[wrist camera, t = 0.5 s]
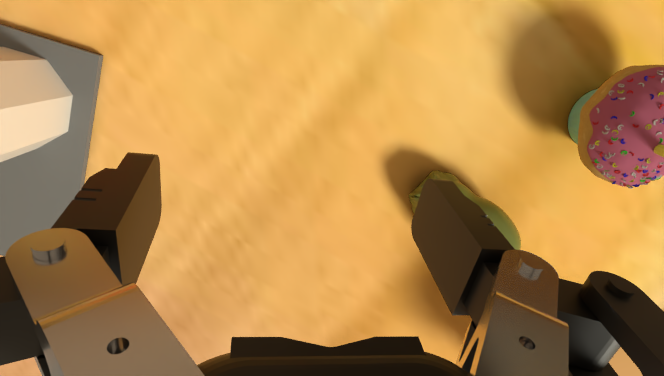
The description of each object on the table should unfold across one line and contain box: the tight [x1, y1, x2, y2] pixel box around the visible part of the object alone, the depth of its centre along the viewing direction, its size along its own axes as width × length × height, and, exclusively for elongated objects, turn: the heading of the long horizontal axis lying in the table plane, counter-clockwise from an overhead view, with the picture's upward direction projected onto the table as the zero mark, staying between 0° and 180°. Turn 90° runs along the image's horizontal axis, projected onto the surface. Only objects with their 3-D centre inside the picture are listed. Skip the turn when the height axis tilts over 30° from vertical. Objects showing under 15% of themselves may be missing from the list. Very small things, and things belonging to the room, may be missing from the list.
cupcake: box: [568, 65, 664, 189], centre depth 27 cm, size 9×8×12 cm
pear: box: [409, 171, 521, 250], centre depth 32 cm, size 6×5×10 cm
